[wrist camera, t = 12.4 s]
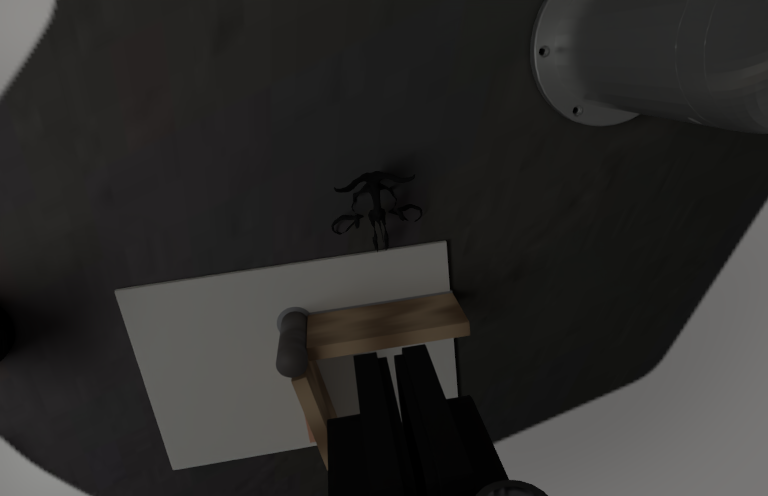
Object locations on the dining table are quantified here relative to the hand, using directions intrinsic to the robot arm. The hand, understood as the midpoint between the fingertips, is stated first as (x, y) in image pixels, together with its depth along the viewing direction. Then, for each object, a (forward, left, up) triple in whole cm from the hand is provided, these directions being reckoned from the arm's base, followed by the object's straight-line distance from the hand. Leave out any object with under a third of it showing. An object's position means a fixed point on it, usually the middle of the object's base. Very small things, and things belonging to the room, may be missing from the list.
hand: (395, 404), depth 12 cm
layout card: (+6, +18, -32) cm, 37 cm away
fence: (0, +14, -32) cm, 35 cm away
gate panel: (+5, +21, -31) cm, 38 cm away
